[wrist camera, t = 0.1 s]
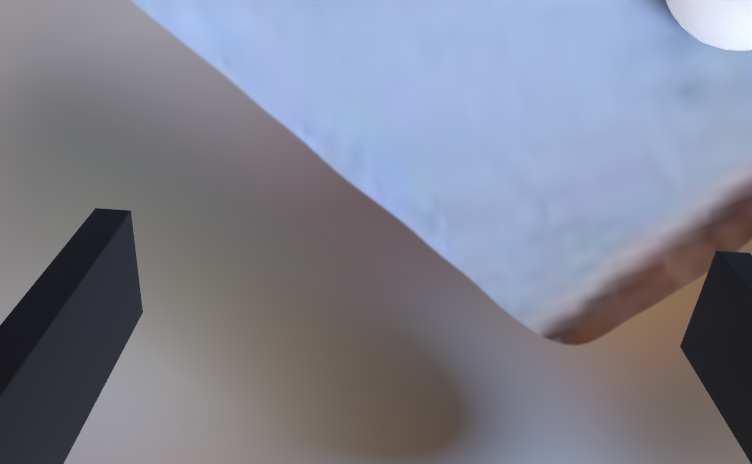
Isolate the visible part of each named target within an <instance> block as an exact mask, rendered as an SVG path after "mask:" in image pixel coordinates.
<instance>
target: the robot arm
mask: <svg viewBox="0 0 752 464" xmlns="http://www.w3.org/2000/svg"><path fill="white" fill-rule="evenodd" d="M142 313H143V311H142V303H141V293H140V286H139V277H138V268H137V260H136V251H135V243H134V234H133V226H132V218H131V211H127V210H112V209H97V208H96V209H95V210H94V211H93V212H92V213H91V215H90V216H89V217H88V218H87V220H86V221H85V222H84V223H83V224H82V226H81V227H80V228H79V229H78V231H77V232H76V233H75V234H74V235H73V237H72V238H71V239H70V241H69V242H68V243H67V244H66V245H65V247H64V248H63V249H62V250H61V252H60V253H59V254H58V255H57V256H56V258H55V259H54V260H53V261H52V263H51V264H50V265H49V266H48V267H47V269H46V270H45V271H44V272H43V274H42V275H41V276H40V277H39V279H38V280H37V281H36V282H35V284H34V285H33V286H32V287H31V288H30V290H29V291H28V292H27V293H26V294H25V296H24V297H23V298H22V299H21V301H20V302H19V303H18V304H17V306H16V307H15V308H14V309H13V310H12V312H11V313H10V314H9V315H8V317H7V318H6V319H5V321H4V322H3V323H2V324H1V325H0V464H63V463H64V461H65V460H66V457H67V456H68V454H69V452H70V450H71V448H72V446H73V444H74V442H75V441H76V439H77V436H78V435H79V433H80V431H81V429H82V427H83V425H84V423H85V421H86V420H87V418H88V416H89V414H90V412H91V410H92V408H93V406H94V404H95V402H96V400H97V398H98V397H99V395H100V393H101V391H102V389H103V387H104V385H105V383H106V381H107V379H108V378H109V376H110V374H111V372H112V370H113V368H114V366H115V364H116V362H117V360H118V358H119V356H120V355H121V353H122V351H123V349H124V347H125V345H126V343H127V341H128V339H129V338H130V336H131V334H132V332H133V330H134V328H135V326H136V324H137V322H138V320H139V318H140V317H141V315H142ZM680 347H681V349H682V350H683V352H684V354H685V355H686V357H687V359H688V360H689V362H690V363H691V365H692V367H693V369H694V370H695V372H696V374H697V375H698V377H699V378H700V380H701V382H702V383H703V385H704V387H705V388H706V390H707V392H708V393H709V395H710V396H711V398H712V400H713V401H714V403H715V405H716V406H717V408H718V410H719V411H720V413H721V415H722V416H723V418H724V419H725V421H726V423H727V424H728V426H729V428H730V429H731V431H732V433H733V434H734V436H735V437H736V439H737V441H738V443H739V444H740V446H741V447H742V449H743V451H744V452H745V454H746V456H747V457H748V459H749V461H750V462H751V464H752V255H751V254H750V253H740V252H726V251H716V253H715V256H714V258H713V261H712V264H711V266H710V269H709V271H708V274H707V277H706V280H705V282H704V285H703V287H702V290H701V293H700V296H699V298H698V301H697V304H696V306H695V309H694V311H693V314H692V317H691V319H690V322H689V325H688V328H687V330H686V333H685V335H684V338H683V341H682V344H681V346H680Z"/></svg>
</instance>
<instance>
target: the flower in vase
mask: <svg viewBox="0 0 752 464" xmlns="http://www.w3.org/2000/svg"><path fill="white" fill-rule="evenodd" d="M666 2H667V5H668V7H669V9H670V11H671V13H672V14H673V16H674V18H675V19H676V20H677V21H678V23H679V24H680V25H681V26H682V27H683V28H684V29H685V30H686V31H687V32H688V33H689V34H690V35H692V36H693V37H695V38H696V39H698V40H699V41H702V42H704V43H706V44H708V45H710V46H714V47H717V48H721V49H727V50H734V51H739V50H752V0H666Z"/></svg>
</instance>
